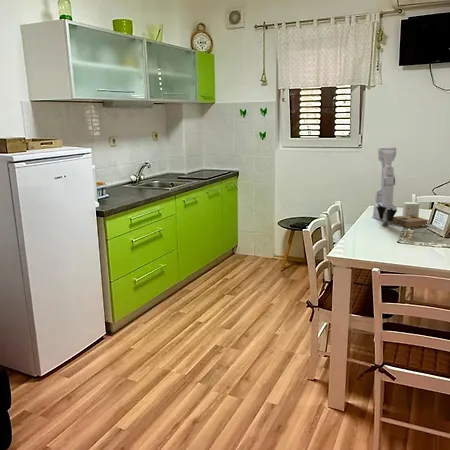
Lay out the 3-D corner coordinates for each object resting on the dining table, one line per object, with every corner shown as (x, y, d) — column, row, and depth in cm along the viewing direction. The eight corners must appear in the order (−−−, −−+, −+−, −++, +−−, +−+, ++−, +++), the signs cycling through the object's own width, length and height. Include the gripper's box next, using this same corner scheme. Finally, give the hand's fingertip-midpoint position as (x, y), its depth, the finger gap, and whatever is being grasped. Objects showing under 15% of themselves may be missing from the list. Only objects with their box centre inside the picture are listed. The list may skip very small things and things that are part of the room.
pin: (381, 225, 254) (382, 211, 252) (385, 224, 255) (386, 211, 253) (384, 226, 251) (385, 212, 249) (389, 225, 252) (390, 212, 250)
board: (391, 222, 260) (391, 216, 259) (410, 220, 264) (411, 214, 263) (407, 227, 247) (408, 221, 246) (427, 225, 251) (428, 219, 250)
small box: (415, 218, 270) (416, 202, 267) (418, 220, 264) (419, 203, 262) (401, 218, 270) (403, 201, 268) (404, 220, 265) (406, 203, 263)
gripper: (373, 195, 255) (372, 218, 258) (389, 199, 241) (388, 223, 244) (383, 194, 257) (382, 217, 260) (400, 198, 243) (398, 222, 246)
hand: (385, 220), depth 252 cm, fingers open, 7 cm apart
